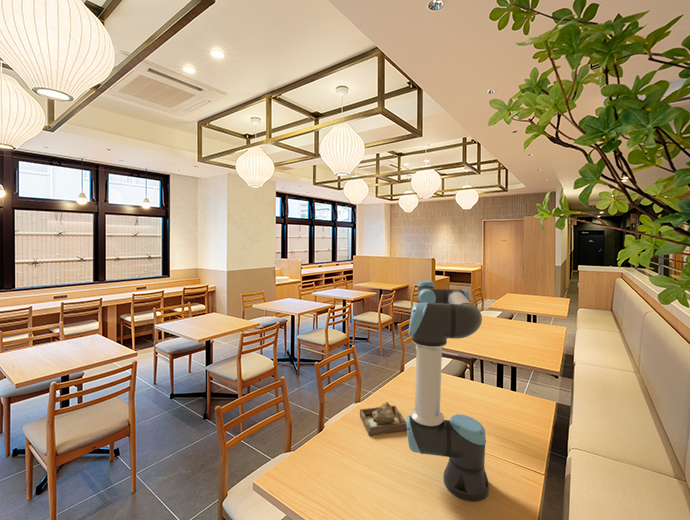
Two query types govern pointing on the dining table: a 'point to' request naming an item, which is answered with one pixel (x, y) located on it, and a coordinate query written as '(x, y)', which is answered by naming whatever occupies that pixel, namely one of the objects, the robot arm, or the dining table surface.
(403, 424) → the brown wooden tray
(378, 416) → the rock
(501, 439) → the dining table surface
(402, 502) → the dining table surface
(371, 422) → the pad
